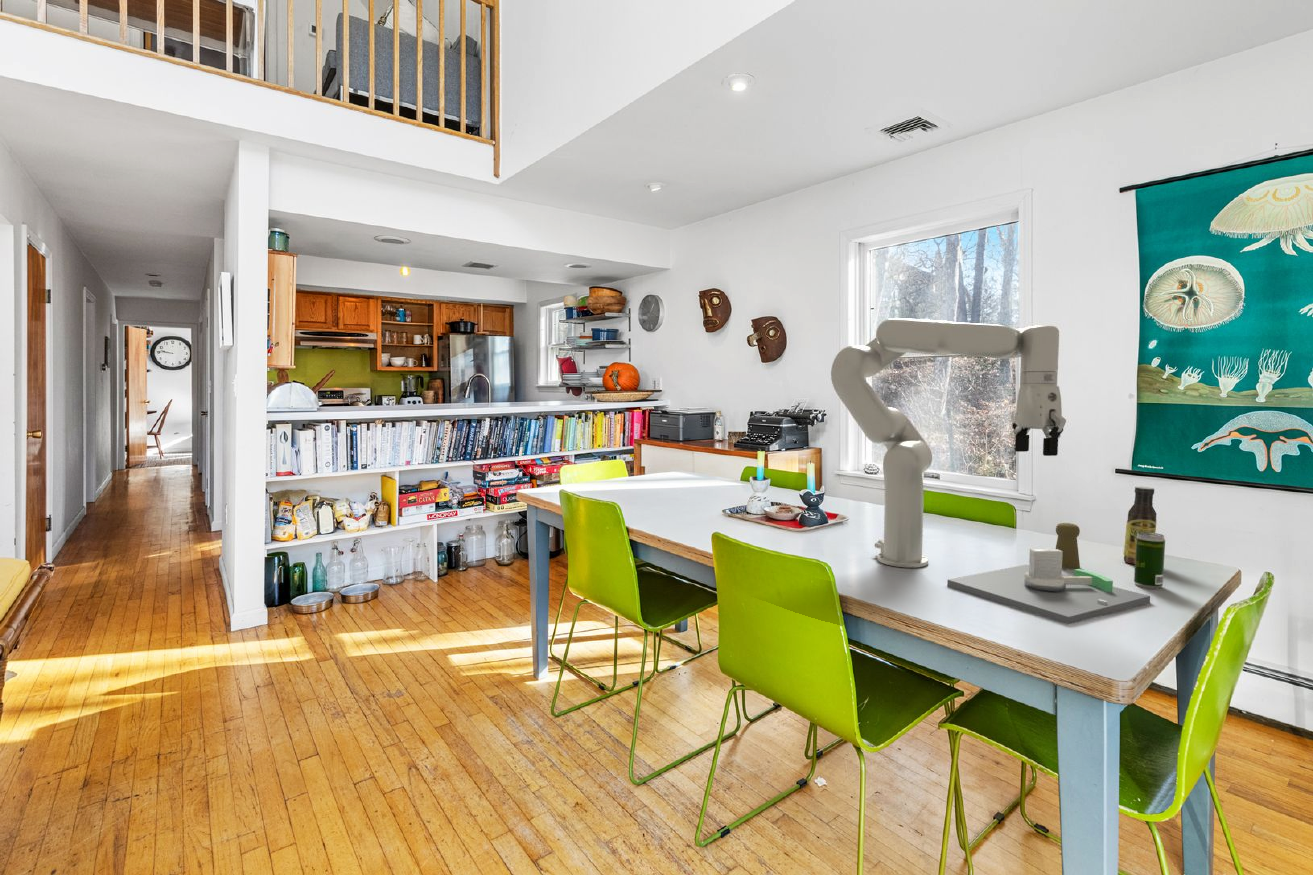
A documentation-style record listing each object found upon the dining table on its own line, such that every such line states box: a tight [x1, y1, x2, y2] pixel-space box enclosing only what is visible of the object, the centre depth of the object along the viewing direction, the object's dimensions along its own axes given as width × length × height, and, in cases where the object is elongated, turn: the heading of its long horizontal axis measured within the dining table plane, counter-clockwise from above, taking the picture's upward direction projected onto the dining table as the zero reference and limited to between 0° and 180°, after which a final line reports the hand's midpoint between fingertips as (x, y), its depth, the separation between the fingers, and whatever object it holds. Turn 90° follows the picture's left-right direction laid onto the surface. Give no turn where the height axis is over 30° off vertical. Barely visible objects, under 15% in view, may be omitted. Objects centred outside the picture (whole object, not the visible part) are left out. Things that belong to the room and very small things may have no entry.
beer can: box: [1133, 532, 1166, 590], centre depth 153 cm, size 5×5×12 cm
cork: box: [1055, 522, 1081, 570], centre depth 170 cm, size 6×6×11 cm
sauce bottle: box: [1123, 486, 1157, 565], centre depth 172 cm, size 7×6×20 cm
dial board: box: [946, 564, 1151, 625], centre depth 147 cm, size 28×28×4 cm
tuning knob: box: [1024, 548, 1093, 591], centre depth 147 cm, size 14×8×8 cm, turn 88°
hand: (1035, 453), depth 155 cm, fingers open, 9 cm apart
